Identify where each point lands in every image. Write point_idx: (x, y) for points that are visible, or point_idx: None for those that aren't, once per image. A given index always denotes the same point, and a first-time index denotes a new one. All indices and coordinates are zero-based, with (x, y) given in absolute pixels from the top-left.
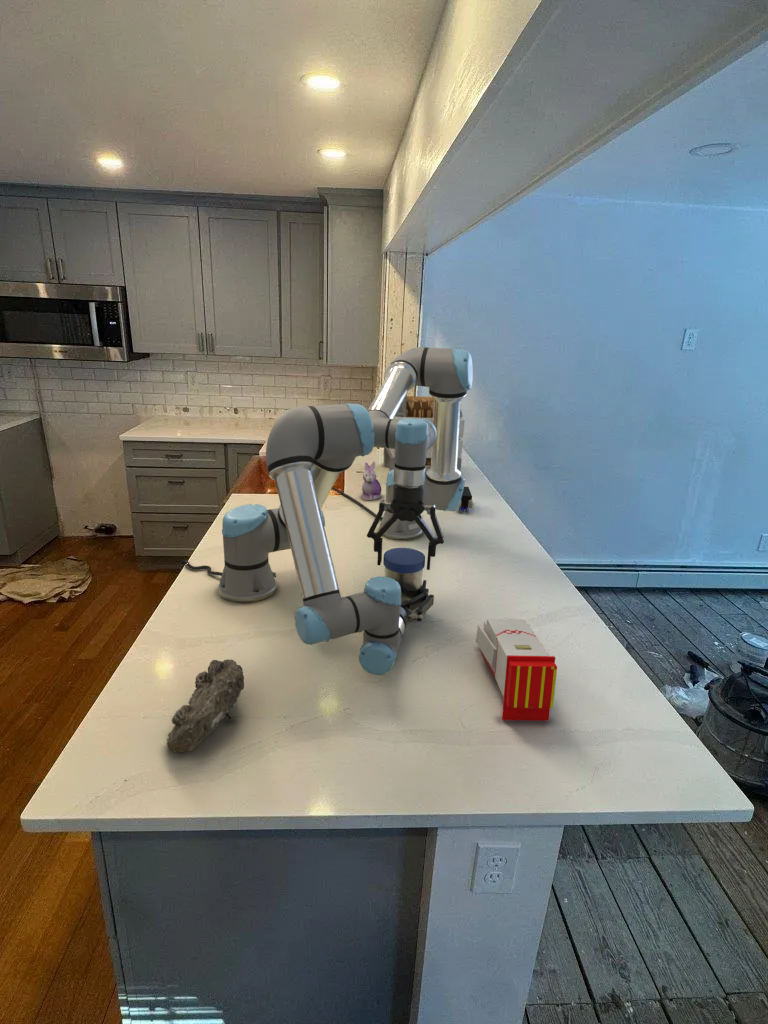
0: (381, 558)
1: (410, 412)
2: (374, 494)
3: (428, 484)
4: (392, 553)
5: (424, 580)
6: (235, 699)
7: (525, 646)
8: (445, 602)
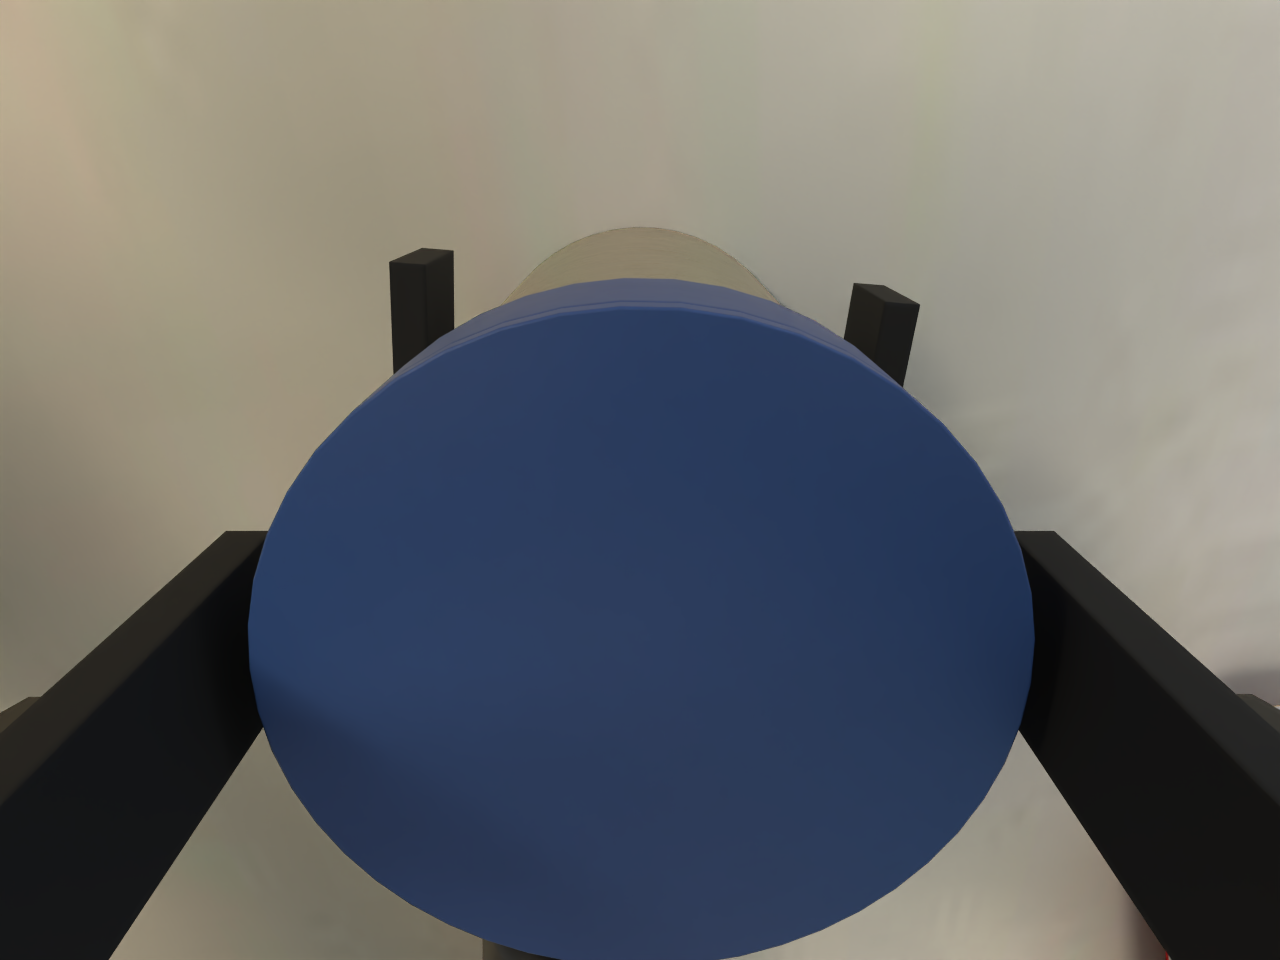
0: (251, 587)
1: None
2: None
3: None
4: (402, 640)
5: (895, 315)
6: None
7: None
8: (1041, 141)
